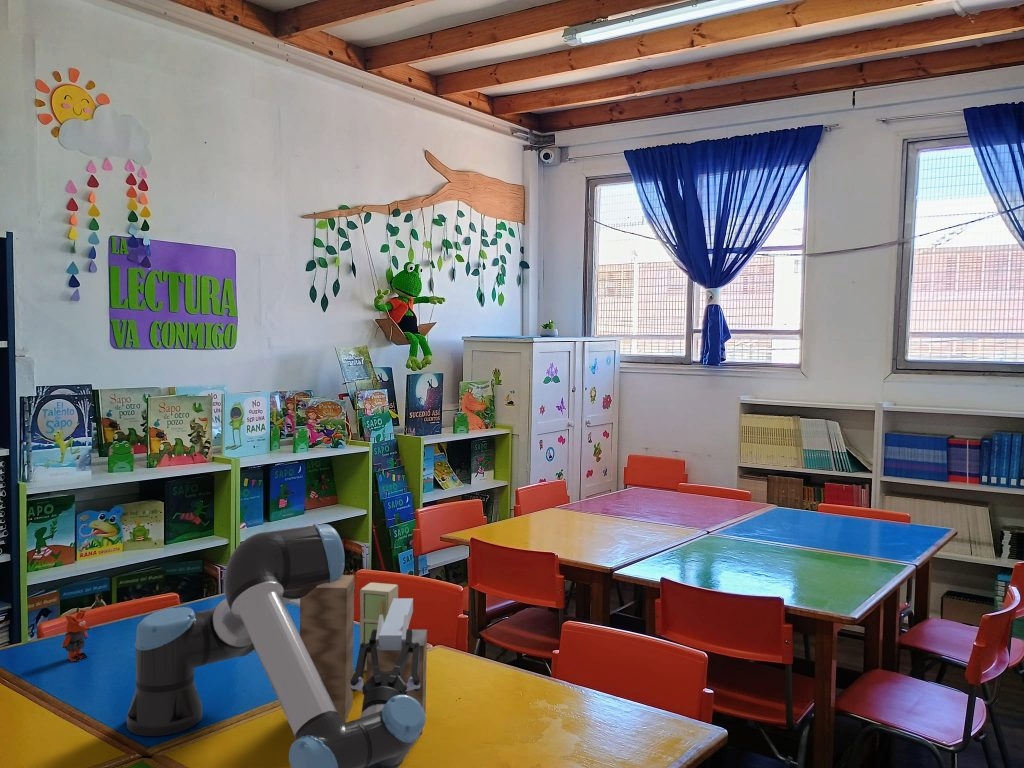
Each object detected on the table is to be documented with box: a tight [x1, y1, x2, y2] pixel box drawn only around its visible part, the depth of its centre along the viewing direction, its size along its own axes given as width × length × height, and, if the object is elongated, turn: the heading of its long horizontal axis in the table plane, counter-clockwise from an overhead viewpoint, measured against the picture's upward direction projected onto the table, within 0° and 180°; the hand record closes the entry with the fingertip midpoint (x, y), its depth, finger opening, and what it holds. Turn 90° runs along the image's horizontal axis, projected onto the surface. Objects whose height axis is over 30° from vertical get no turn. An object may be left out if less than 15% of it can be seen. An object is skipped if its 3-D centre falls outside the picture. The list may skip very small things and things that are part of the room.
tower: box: [299, 574, 355, 723], centre depth 185 cm, size 10×10×30 cm
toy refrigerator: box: [359, 582, 399, 672], centre depth 213 cm, size 8×7×21 cm
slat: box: [379, 597, 414, 650], centre depth 180 cm, size 4×26×3 cm, turn 2°
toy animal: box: [61, 609, 90, 662], centre depth 214 cm, size 8×6×12 cm
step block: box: [365, 629, 428, 734], centre depth 182 cm, size 12×10×19 cm
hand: (394, 619), depth 174 cm, fingers closed on slat, 4 cm apart
